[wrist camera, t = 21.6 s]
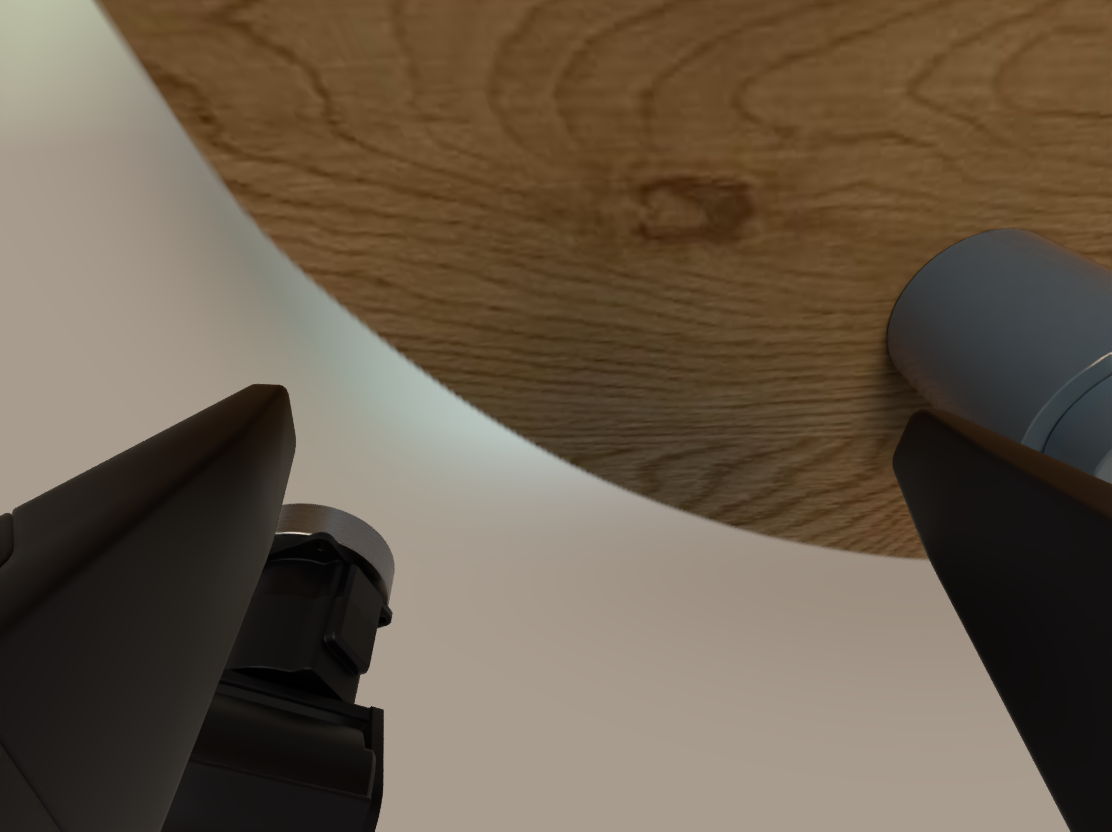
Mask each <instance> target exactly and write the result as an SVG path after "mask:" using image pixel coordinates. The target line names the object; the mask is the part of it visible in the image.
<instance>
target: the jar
mask: <svg viewBox="0 0 1112 832" xmlns="http://www.w3.org/2000/svg"><path fill="white" fill-rule="evenodd" d="M887 335H888V350H889V354H890V357H891V360H892V362H893V364H894V366H895V367H896V369H897V370H898V371H899V372H900V374H901V375H902V376H903V377H904V378H905V379H906V380H907V381H908V382H909V383H910V384H911V385H912V386H913V387H914V388H915V389H916V390H917V391H918V392H919V393H920V394H921V395H922V396H923V397H924V398H925V399H926V400H927V401H928V402H929V403H930V404H931V405H932V406H933V407H934V408H935V409H936V410H945V411H949V412H951V413H953V414H956V415H958V416H960V417H962V418H965V419H967V420H969V421H971V422H974V423H976V424H978V425H980V426H983V427H985V428H987V429H989V430H991V431H994V432H996V433H998V434H1000V435H1003V436H1005V437H1007V438H1009V439H1012V440H1014V441H1016V442H1018V443H1021V444H1023V445H1025V446H1027V447H1030V448H1032V449H1034V450H1036V451H1039V452H1041V453H1043V454H1045V455H1048V456H1050V457H1052V458H1054V459H1057V460H1059V461H1061V462H1063V463H1066V464H1068V465H1070V466H1072V467H1075V468H1077V469H1079V470H1081V471H1084V472H1086V473H1088V474H1090V475H1093V476H1095V477H1097V478H1099V479H1102V480H1104V481H1106V482H1108V483H1110V484H1112V269H1111V268H1109V267H1107V266H1105V265H1103V264H1101V263H1099V262H1097V261H1095V260H1093V259H1091V258H1089V257H1087V256H1084V255H1082V254H1080V253H1078V252H1076V251H1074V250H1072V249H1070V248H1068V247H1066V246H1064V245H1062V244H1060V243H1058V242H1056V241H1053V240H1051V239H1049V238H1047V237H1045V236H1043V235H1041V234H1039V233H1036V232H1033V231H1029V230H1025V229H1015V228H1010V229H998V230H992V231H987V232H983V233H980V234H977V235H974V236H971V237H969V238H966V239H964V240H962V241H960V242H958V243H956V244H954V245H952V246H951V247H949V248H947V249H946V250H944V251H943V252H941V253H940V254H938V255H937V256H936V257H935V258H933V259H932V260H931V261H930V262H928V263H927V264H926V265H925V266H924V267H923V268H922V269H921V270H920V271H919V272H918V273H917V274H916V275H915V277H914V278H913V279H912V280H911V281H910V282H909V284H908V285H907V287H906V288H905V289H904V291H903V292H902V294H901V296H900V298H899V299H898V301H897V303H896V305H895V308H894V310H893V312H892V315H891V319H890V322H889V327H888V334H887Z"/></svg>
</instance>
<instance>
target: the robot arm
mask: <svg viewBox="0 0 1112 832" xmlns="http://www.w3.org/2000/svg"><path fill="white" fill-rule="evenodd" d="M295 447H296V436H295V429H294V423H293V417H292V411H291V405H290V399H289V394H288V392H287V390H286V388H285V387H284V386H281V385H271V384H253V385H250V386H248V387H247V388H245V389H243V390H241V391H239V392H237V393H235V394H233V395H231V396H229V397H227V398H225V399H223V400H222V401H220V402H218V403H216V404H214V405H212V406H210V407H208V408H206V409H204V410H202V411H200V412H199V413H197V414H195V415H193V416H191V417H189V418H187V419H185V420H183V421H182V422H179V423H178V424H176V425H174V426H172V427H170V428H168V429H166V430H164V431H162V432H160V433H158V434H157V435H155V436H153V437H151V438H149V439H147V440H145V441H143V442H141V443H139V444H137V445H135V446H134V447H132V448H130V449H128V450H126V451H124V452H122V453H120V454H118V455H116V456H114V457H112V458H110V459H109V460H107V461H105V462H103V463H101V464H99V465H97V466H95V467H93V468H91V469H90V470H87V471H86V472H84V473H82V474H80V475H78V476H76V477H74V478H72V479H70V480H68V481H67V482H65V483H63V484H61V485H59V486H57V487H55V488H53V489H51V490H49V491H47V492H45V493H44V494H42V495H40V496H38V497H36V498H34V499H32V500H30V501H28V502H26V503H24V504H22V505H21V506H19V507H17V508H15V509H14V510H13V512H12V514H10V513H5V514H3V515H1V516H0V832H375V829H376V825H377V822H378V818H379V813H380V809H381V803H382V796H383V750H384V748H383V747H384V745H383V744H384V742H383V741H384V737H383V736H384V710H383V709H380V708H376V707H372V706H371V707H370V708H367V707H364V706H360V705H356V704H354V703H355V698H356V693H357V688H358V683H359V678H360V675H361V674H365V673H366V672H367V671H368V668H369V666H370V661H371V656H372V651H373V646H374V641H375V636H376V631H377V629H378V628H381V627H384V626H387V625H389V624H390V623H391V620H392V615H393V613H392V611H391V609H390V608H389V607H388V605H387V604H386V603H385V602H384V600H383V598H382V596H381V595H380V594H379V592H378V591H377V590H376V589H375V587H374V586H373V585H372V584H371V582H370V581H369V580H368V578H367V577H366V576H365V575H364V573H363V572H362V571H361V570H360V568H359V567H358V566H356V565H355V564H354V562H353V561H352V560H351V559H350V557H349V556H348V555H347V554H346V552H345V551H344V550H343V549H342V547H341V546H340V545H339V544H338V542H337V541H336V540H335V538H334V537H333V536H332V535H331V534H329V533H327V532H317V533H314V534H311V535H308V536H305V537H302V538H299V539H296V540H293V541H290V542H287V543H284V544H281V545H278V546H275V547H272V548H271V545H272V542H273V538H274V535H275V531H276V527H277V523H278V519H279V515H280V511H281V507H282V503H283V499H284V495H285V490H286V486H287V482H288V478H289V474H290V470H291V466H292V462H293V458H294V453H295ZM893 470H894V473H895V475H896V478H897V480H898V483H899V486H900V488H901V491H902V493H903V496H904V498H905V501H906V503H907V506H908V509H909V511H910V514H911V516H912V519H913V521H914V524H915V527H916V529H917V532H918V534H919V537H920V539H921V542H922V544H923V547H924V549H925V551H926V554H927V556H928V558H929V560H930V562H931V564H932V566H933V568H934V570H935V572H936V574H937V575H938V578H939V580H940V582H941V584H942V586H943V588H944V589H945V591H946V593H947V595H948V597H949V599H950V601H951V603H952V605H953V607H954V609H955V611H956V612H957V614H958V616H959V618H960V620H961V622H962V624H963V626H964V628H965V630H966V632H967V634H968V636H969V638H970V639H971V641H972V643H973V645H974V647H975V649H976V651H977V653H978V655H979V657H980V659H981V660H982V663H983V664H984V666H985V668H986V670H987V672H988V674H989V676H990V678H991V680H992V681H993V684H994V685H995V687H996V689H997V691H998V693H999V695H1000V697H1001V699H1002V701H1003V703H1004V705H1005V707H1006V709H1007V711H1008V713H1009V714H1010V716H1011V718H1012V720H1013V722H1014V724H1015V726H1016V728H1017V730H1018V732H1019V734H1020V736H1021V738H1022V740H1023V741H1024V743H1025V745H1026V747H1027V749H1028V751H1029V753H1030V755H1031V757H1032V759H1033V761H1034V763H1035V765H1036V766H1037V768H1038V770H1039V772H1040V774H1041V776H1042V778H1043V780H1044V782H1045V784H1046V786H1047V787H1048V790H1049V791H1050V793H1051V795H1052V797H1053V799H1054V801H1055V803H1056V805H1057V807H1058V809H1059V811H1060V813H1061V815H1062V816H1063V818H1064V820H1065V822H1066V824H1067V826H1068V828H1069V830H1070V832H1112V484H1110V483H1108V482H1106V481H1104V480H1102V479H1099V478H1097V477H1095V476H1093V475H1090V474H1088V473H1086V472H1084V471H1081V470H1079V469H1077V468H1075V467H1072V466H1070V465H1068V464H1066V463H1063V462H1061V461H1059V460H1057V459H1054V458H1052V457H1050V456H1048V455H1045V454H1043V453H1041V452H1039V451H1036V450H1034V449H1032V448H1030V447H1027V446H1025V445H1023V444H1021V443H1018V442H1016V441H1014V440H1012V439H1009V438H1007V437H1005V436H1003V435H1000V434H998V433H996V432H994V431H991V430H989V429H987V428H985V427H983V426H980V425H978V424H976V423H974V422H971V421H969V420H967V419H965V418H962V417H960V416H958V415H956V414H953V413H951V412H949V411H945V410H928V409H922V410H918V411H916V412H915V413H914V414H913V415H912V416H911V417H910V419H909V421H908V423H907V425H906V428H905V430H904V432H903V434H902V436H901V439H900V441H899V443H898V445H897V447H896V449H895V452H894V455H893ZM319 542H323V543H325V544H322V543H319ZM381 616H382V617H381Z"/></svg>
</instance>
